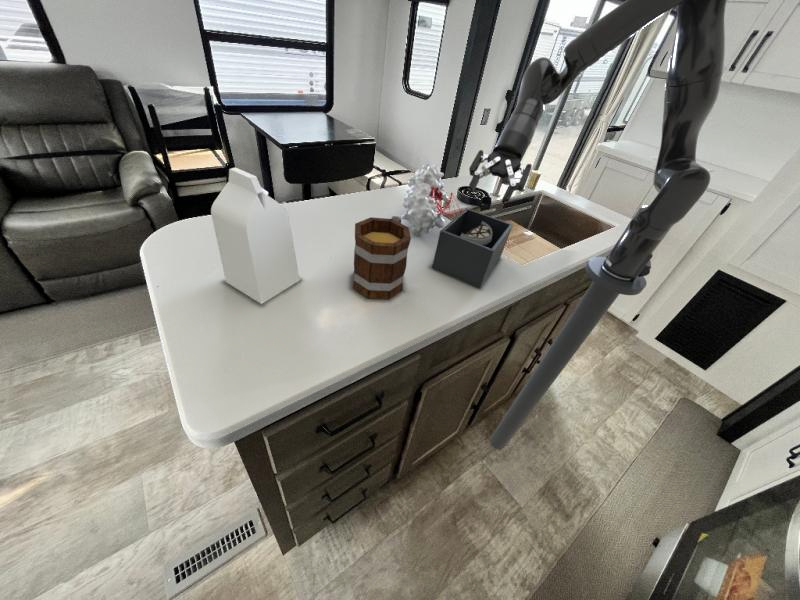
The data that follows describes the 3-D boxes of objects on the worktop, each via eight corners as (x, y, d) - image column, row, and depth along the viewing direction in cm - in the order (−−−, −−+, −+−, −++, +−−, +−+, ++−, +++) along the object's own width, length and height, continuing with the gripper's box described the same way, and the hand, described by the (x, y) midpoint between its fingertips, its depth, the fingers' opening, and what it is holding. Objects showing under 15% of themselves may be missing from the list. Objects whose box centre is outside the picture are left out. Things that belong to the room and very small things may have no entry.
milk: (226, 282, 75) (193, 170, 58) (265, 261, 83) (247, 157, 66) (261, 304, 71) (237, 190, 54) (299, 280, 79) (289, 174, 62)
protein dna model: (449, 246, 115) (436, 184, 120) (476, 222, 98) (459, 151, 103) (397, 248, 108) (386, 182, 113) (417, 222, 91) (402, 147, 97)
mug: (394, 306, 76) (402, 253, 66) (342, 290, 78) (342, 237, 68) (415, 264, 91) (424, 215, 81) (371, 251, 93) (374, 202, 83)
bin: (499, 258, 99) (513, 224, 91) (479, 288, 86) (493, 251, 78) (456, 241, 103) (466, 207, 96) (431, 267, 90) (440, 230, 83)
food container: (469, 274, 89) (480, 243, 82) (451, 264, 91) (460, 233, 85) (490, 258, 97) (501, 229, 90) (473, 249, 99) (483, 220, 93)
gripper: (488, 122, 79) (459, 180, 79) (545, 136, 75) (515, 198, 74) (488, 141, 86) (462, 194, 86) (541, 155, 82) (513, 212, 81)
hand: (487, 196), depth 80 cm, fingers open, 8 cm apart
